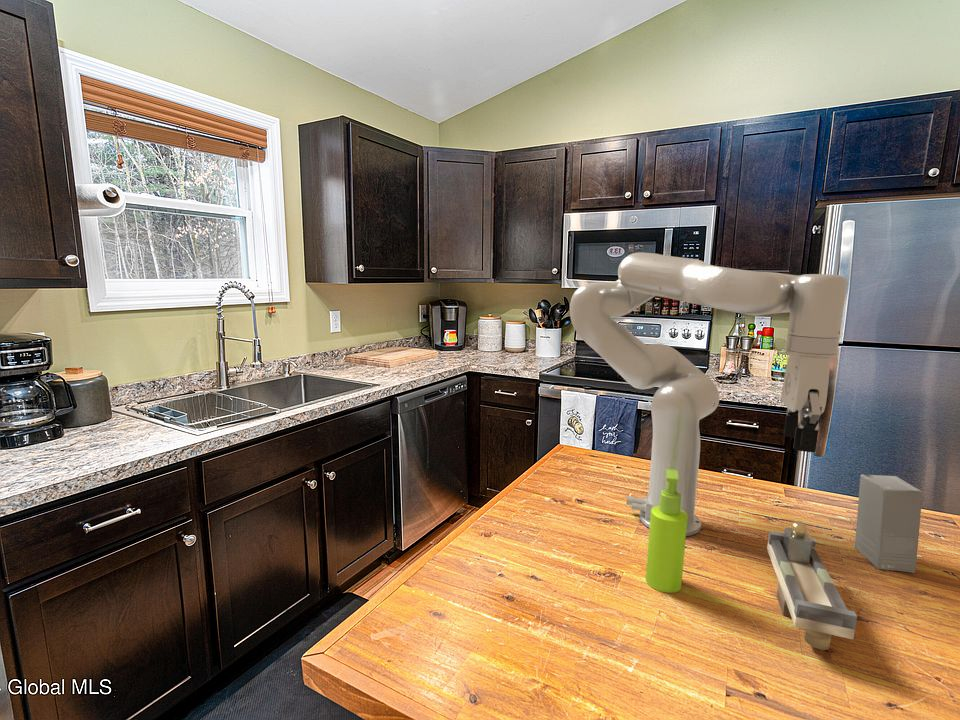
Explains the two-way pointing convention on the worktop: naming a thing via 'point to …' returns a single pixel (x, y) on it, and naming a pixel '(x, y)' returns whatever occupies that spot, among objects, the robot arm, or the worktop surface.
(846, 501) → the worktop surface
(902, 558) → the skincare box
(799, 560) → the rider
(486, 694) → the worktop surface
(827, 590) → the stand
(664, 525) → the soap dispenser
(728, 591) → the worktop surface
